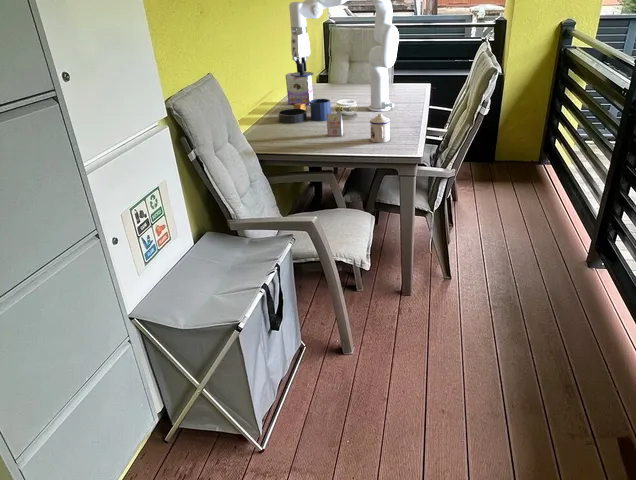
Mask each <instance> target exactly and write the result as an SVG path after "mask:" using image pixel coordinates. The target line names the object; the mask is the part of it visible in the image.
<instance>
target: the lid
mask: <svg viewBox="0 0 636 480" xmlns="http://www.w3.org/2000/svg"><path fill="white" fill-rule="evenodd" d="M301 64H302V66H303V72H302V73H300V72H297V71H296V72H291V73H292V74H291V76H294V77H299V78H302V77H309V76H311V77H312V76H314V73H313V72H312V71H306V72H304V63H302V62H301Z"/></svg>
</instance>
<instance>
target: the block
mask: <svg viewBox="0 0 636 480" xmlns="http://www.w3.org/2000/svg"><path fill="white" fill-rule="evenodd" d="M293 109H304V110H306V111H307V108H306V105H305V103H297V104H293Z"/></svg>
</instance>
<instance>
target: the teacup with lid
mask: <svg viewBox="0 0 636 480" xmlns="http://www.w3.org/2000/svg"><path fill="white" fill-rule="evenodd" d="M369 123H370V141H371V142H373V143H378V144H379V143H387V142H389V141H390V136H391V135H390V131H391V130H390V128H391V127H390V125H391V124H390V123H391V120H390V117H389V118H388V117H386V116H384V115H383V114H382V113H378V114H377V115H376V116H375V117H372V118H370V120H369Z"/></svg>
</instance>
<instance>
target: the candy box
mask: <svg viewBox="0 0 636 480" xmlns="http://www.w3.org/2000/svg"><path fill="white" fill-rule="evenodd" d="M292 73H293V72H289V73H285V83H286V84H285V85H286V92H287V93H286V94H287V103H288V105H294V104H297V103H305V106H310V101H311V100H314V93H313V81H312V76H309V77H302V78H299V77H294V76H291V74H292Z"/></svg>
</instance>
